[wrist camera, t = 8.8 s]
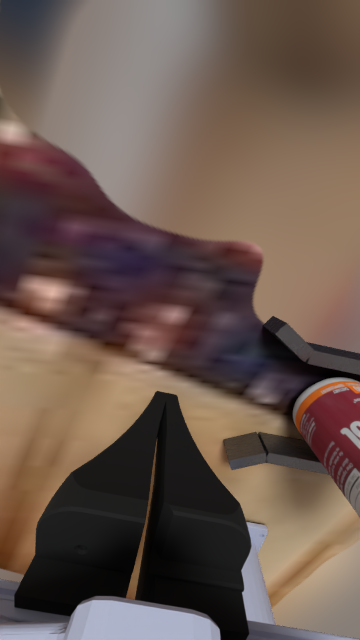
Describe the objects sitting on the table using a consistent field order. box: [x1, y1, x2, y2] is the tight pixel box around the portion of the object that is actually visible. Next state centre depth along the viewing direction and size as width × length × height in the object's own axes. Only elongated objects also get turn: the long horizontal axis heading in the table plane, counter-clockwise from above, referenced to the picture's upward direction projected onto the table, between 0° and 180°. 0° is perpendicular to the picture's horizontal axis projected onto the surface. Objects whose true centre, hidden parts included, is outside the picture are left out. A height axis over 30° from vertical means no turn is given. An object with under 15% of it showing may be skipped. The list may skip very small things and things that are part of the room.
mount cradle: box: [224, 316, 360, 475], centre depth 15 cm, size 13×12×2 cm
